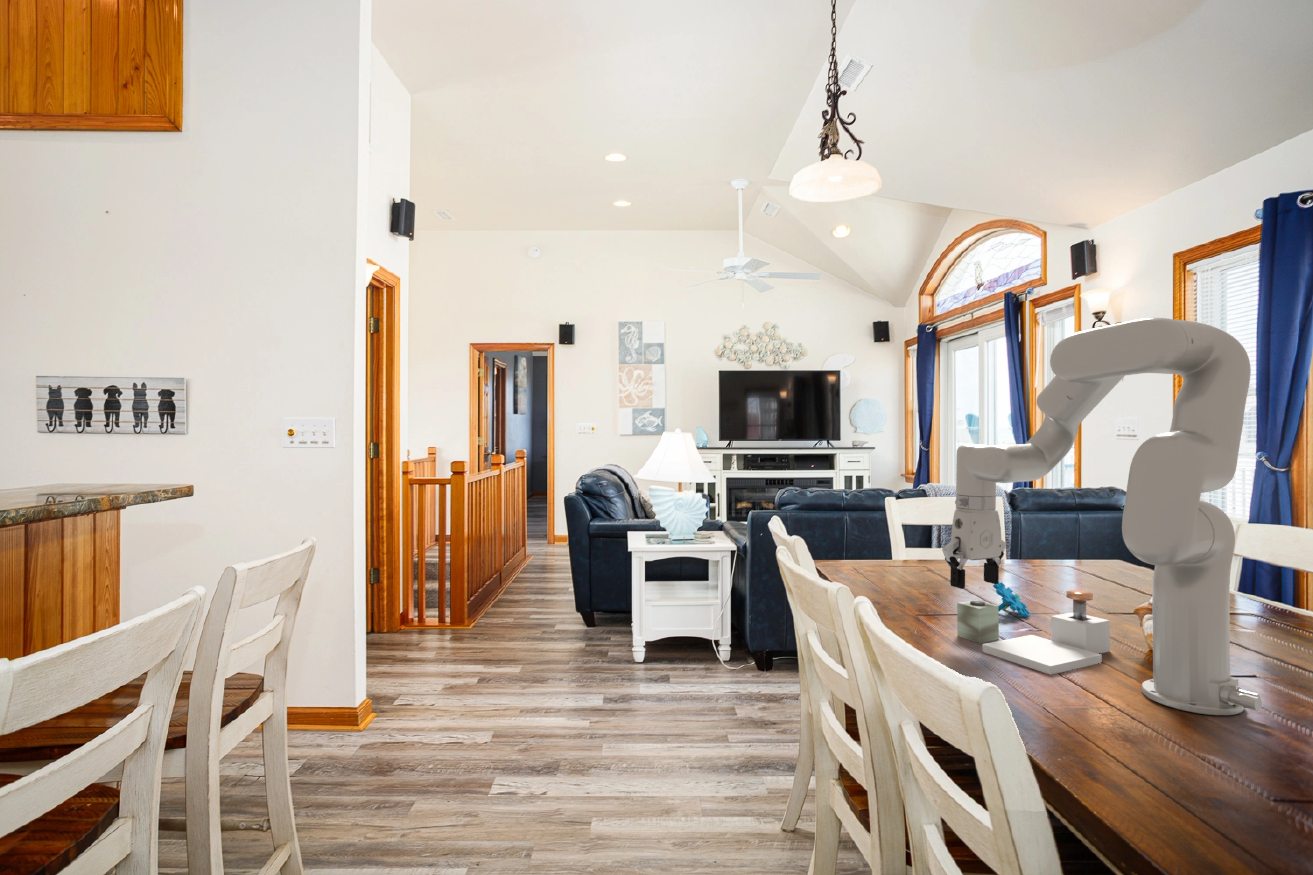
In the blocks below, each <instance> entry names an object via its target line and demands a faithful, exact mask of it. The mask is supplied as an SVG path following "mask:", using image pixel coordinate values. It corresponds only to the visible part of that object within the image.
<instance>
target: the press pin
mask: <svg viewBox="0 0 1313 875" xmlns="http://www.w3.org/2000/svg"><path fill="white" fill-rule="evenodd" d="M1065 592H1066V593H1065V594H1066V598H1068V599H1070V600H1072V601H1073V602H1072V607H1073V608H1072V612H1073V619H1076V620H1080V621H1085V620H1086V615H1087V602H1088V601H1093V600H1094V598H1093V597H1094V593H1092V592H1090V591H1086V590H1078V589H1077V590H1075V589H1070V590H1066V591H1065Z"/></svg>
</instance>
